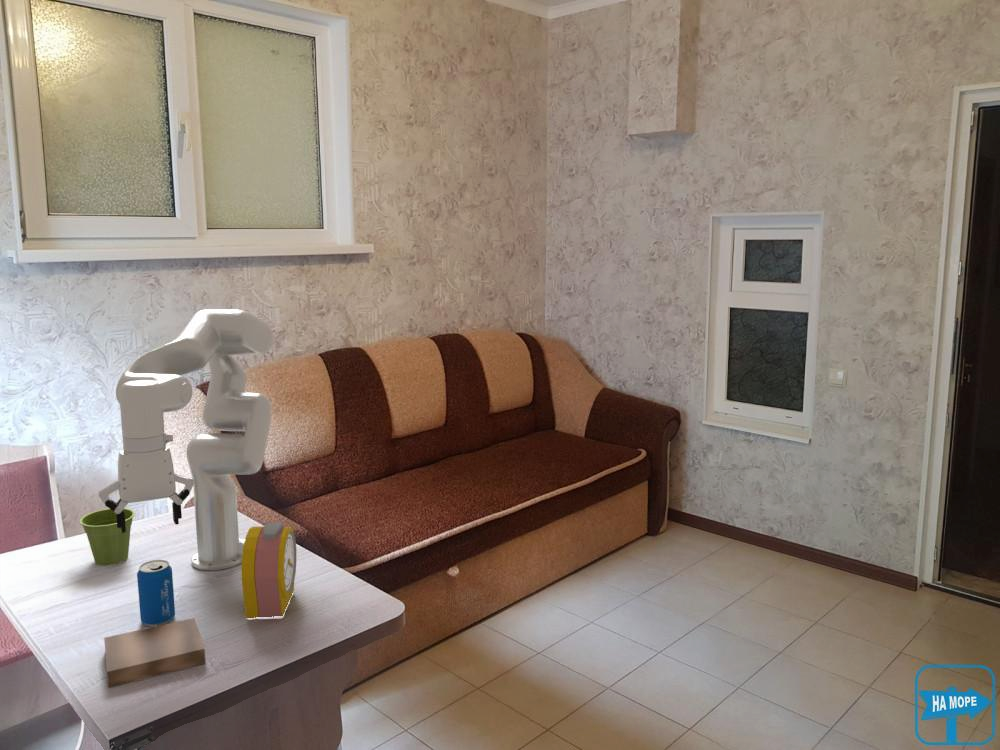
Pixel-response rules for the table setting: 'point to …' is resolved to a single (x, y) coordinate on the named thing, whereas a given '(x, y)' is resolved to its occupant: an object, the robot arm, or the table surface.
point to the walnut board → (153, 651)
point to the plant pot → (107, 536)
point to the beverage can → (156, 592)
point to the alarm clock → (268, 569)
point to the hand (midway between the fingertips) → (150, 526)
